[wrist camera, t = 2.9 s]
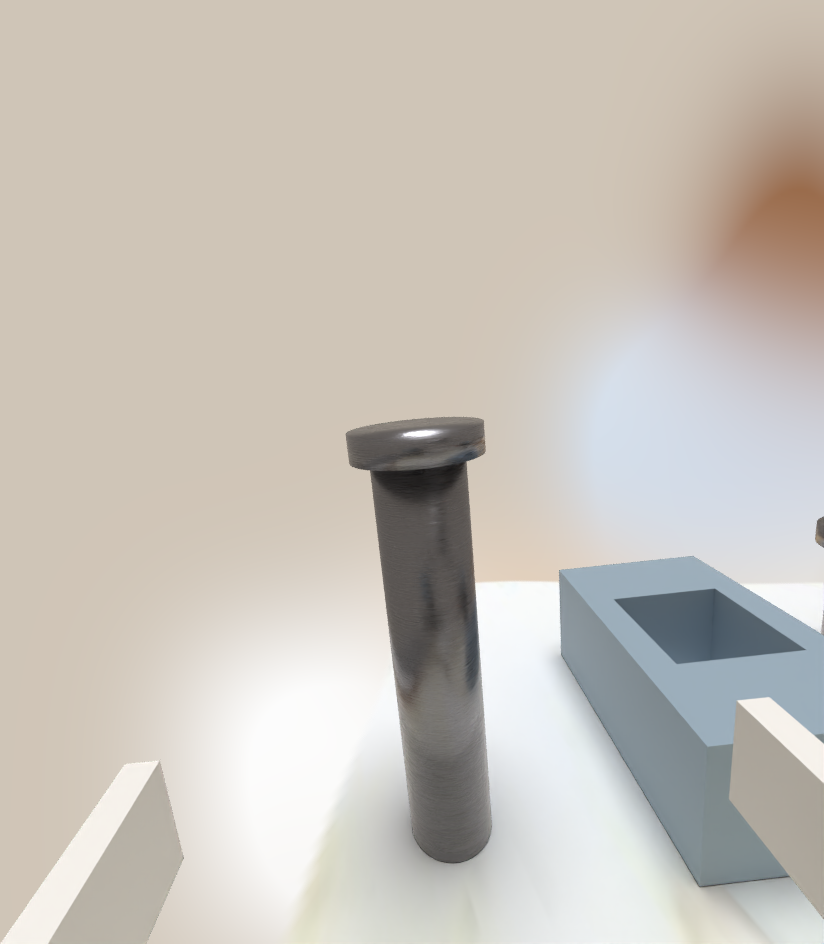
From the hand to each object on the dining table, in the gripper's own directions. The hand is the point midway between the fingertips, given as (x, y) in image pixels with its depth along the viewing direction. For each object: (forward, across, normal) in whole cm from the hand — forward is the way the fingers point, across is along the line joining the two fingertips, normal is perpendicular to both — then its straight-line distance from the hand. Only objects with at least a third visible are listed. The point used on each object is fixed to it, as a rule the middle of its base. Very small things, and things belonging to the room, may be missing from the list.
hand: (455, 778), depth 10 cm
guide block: (+14, +15, -13) cm, 24 cm away
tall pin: (+10, 0, -13) cm, 16 cm away
